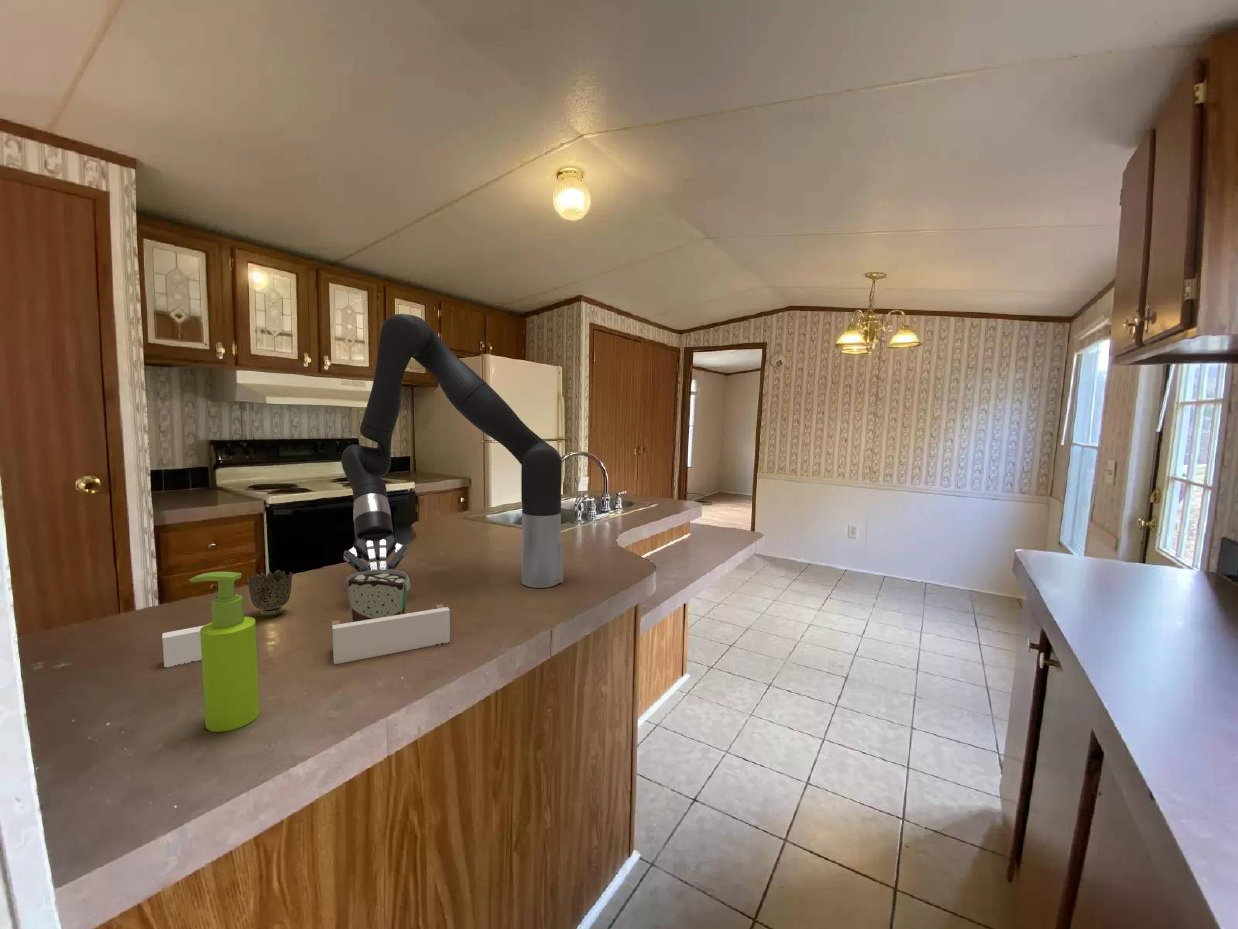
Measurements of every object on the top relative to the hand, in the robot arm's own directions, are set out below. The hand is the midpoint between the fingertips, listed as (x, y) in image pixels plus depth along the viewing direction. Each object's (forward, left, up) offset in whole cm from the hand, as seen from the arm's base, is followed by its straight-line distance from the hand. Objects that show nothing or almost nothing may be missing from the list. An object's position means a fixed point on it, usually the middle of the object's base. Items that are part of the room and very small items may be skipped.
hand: (380, 590), depth 109 cm
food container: (0, +7, -5) cm, 9 cm away
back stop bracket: (0, +17, -4) cm, 18 cm away
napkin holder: (+26, +9, -5) cm, 29 cm away
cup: (+19, -7, -5) cm, 21 cm away
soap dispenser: (+22, +31, -5) cm, 39 cm away
